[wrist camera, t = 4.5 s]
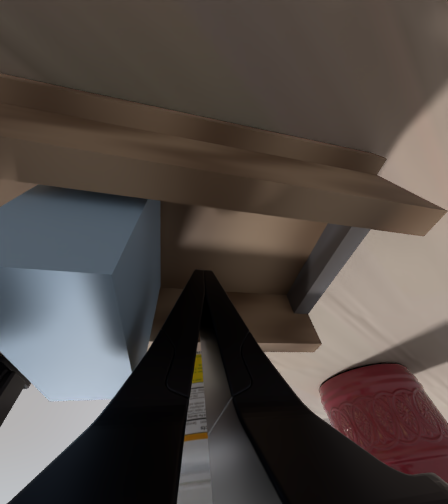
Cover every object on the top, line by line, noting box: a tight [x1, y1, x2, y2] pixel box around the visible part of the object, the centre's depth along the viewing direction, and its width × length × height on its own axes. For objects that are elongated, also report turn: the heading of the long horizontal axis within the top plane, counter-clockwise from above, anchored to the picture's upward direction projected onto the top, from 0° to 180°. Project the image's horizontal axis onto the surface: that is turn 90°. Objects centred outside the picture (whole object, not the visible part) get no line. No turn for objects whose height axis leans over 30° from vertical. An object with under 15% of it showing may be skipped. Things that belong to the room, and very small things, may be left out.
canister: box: [319, 364, 448, 483], centre depth 24 cm, size 13×13×18 cm
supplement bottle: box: [177, 351, 213, 504], centre depth 15 cm, size 6×6×10 cm
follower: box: [0, 184, 161, 401], centre depth 8 cm, size 3×7×6 cm, turn 169°
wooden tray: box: [0, 73, 447, 352], centre depth 9 cm, size 28×11×5 cm, turn 79°
